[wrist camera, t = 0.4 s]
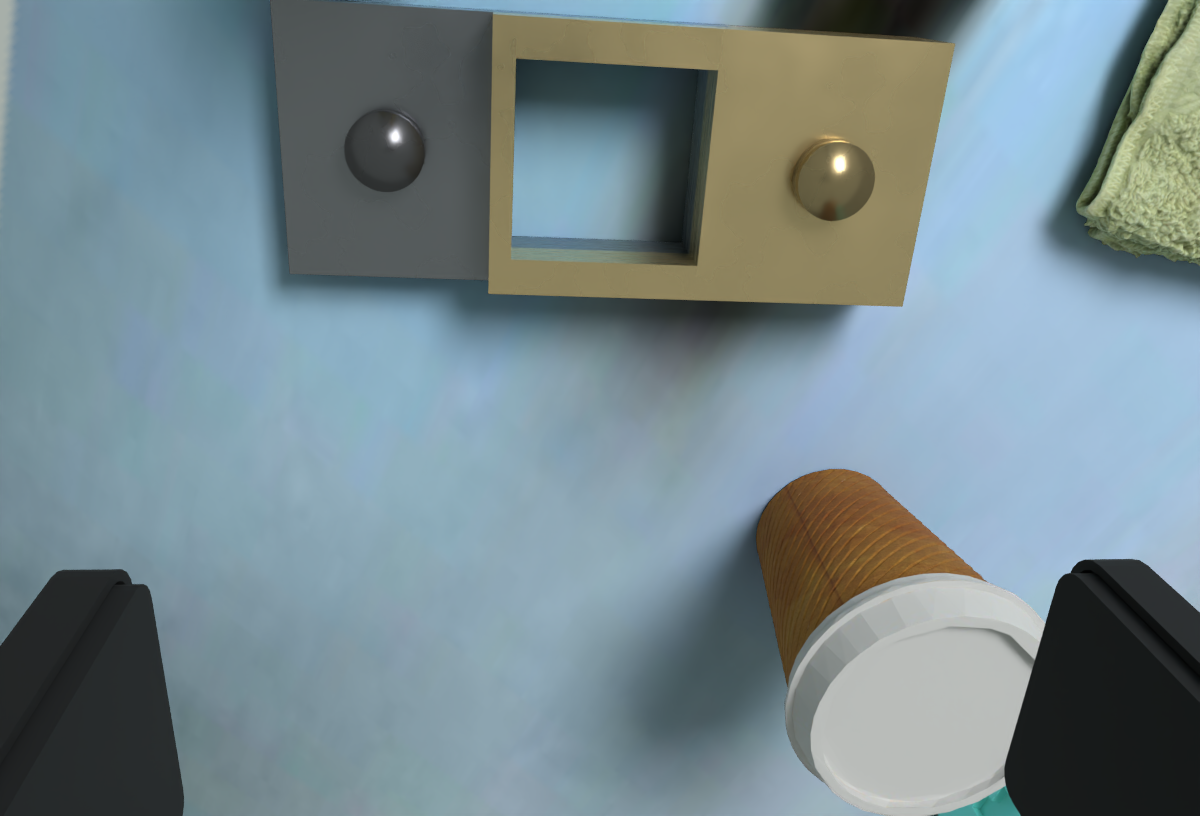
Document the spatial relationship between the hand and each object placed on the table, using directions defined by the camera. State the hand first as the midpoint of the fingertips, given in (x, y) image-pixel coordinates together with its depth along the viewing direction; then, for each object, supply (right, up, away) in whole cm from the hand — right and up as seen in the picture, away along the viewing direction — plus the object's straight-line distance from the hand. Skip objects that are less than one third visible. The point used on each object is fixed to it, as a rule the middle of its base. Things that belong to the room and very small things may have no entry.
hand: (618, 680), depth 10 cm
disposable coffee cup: (+10, -2, +33) cm, 34 cm away
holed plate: (0, +12, +25) cm, 28 cm away
